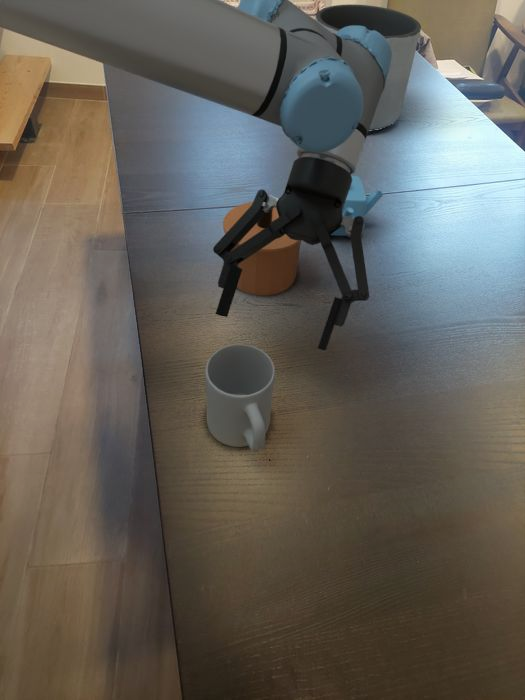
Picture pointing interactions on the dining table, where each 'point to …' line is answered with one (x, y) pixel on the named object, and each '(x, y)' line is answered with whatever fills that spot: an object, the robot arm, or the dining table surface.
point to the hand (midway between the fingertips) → (270, 332)
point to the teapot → (357, 203)
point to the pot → (269, 271)
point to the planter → (401, 40)
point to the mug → (239, 395)
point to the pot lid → (258, 228)
